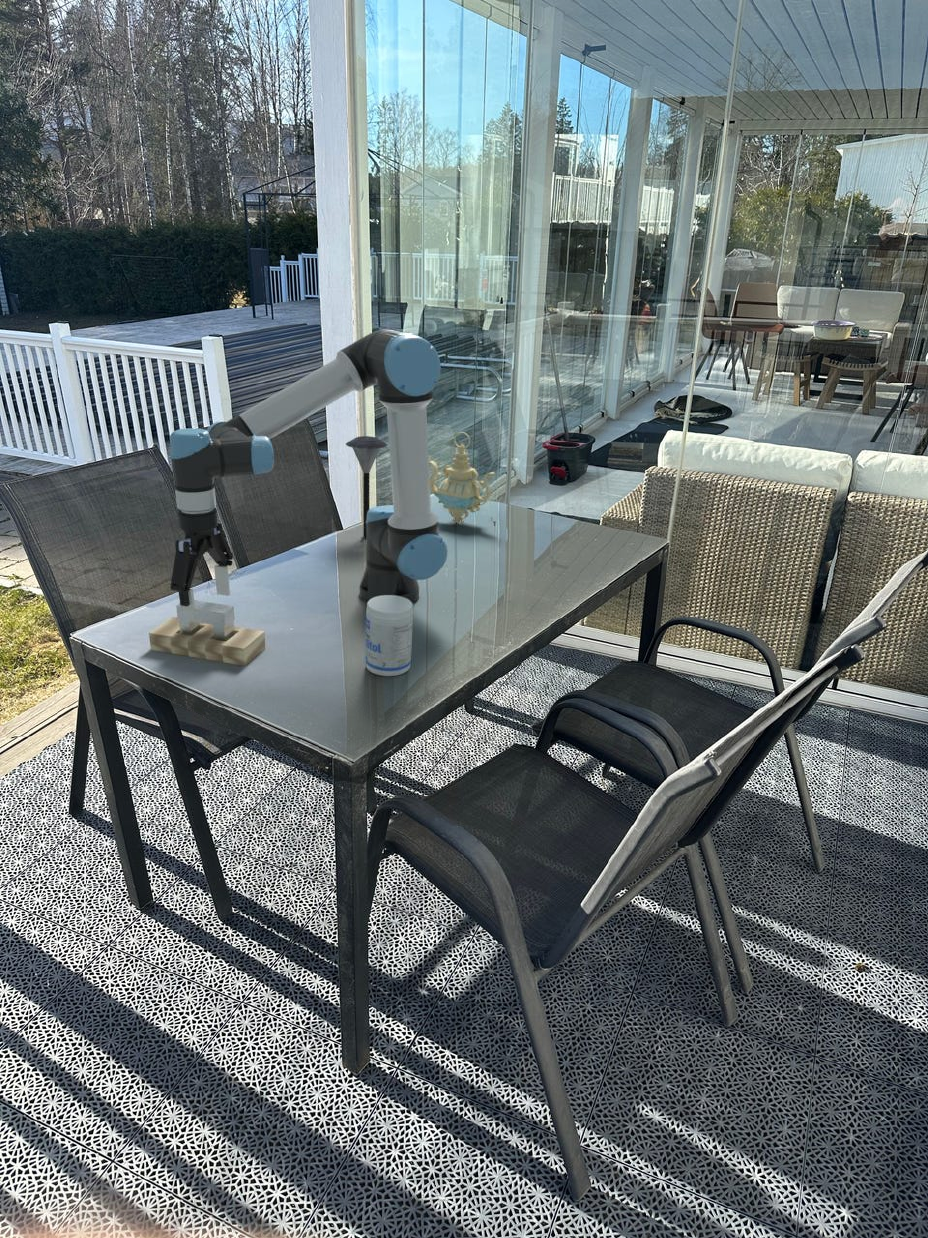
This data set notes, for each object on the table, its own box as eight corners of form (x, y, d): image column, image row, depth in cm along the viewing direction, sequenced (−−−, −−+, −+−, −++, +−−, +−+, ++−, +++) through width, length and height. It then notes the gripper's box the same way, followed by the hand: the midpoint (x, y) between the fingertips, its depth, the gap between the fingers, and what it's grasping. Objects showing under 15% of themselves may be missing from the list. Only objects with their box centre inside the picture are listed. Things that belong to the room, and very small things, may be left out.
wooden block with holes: (265, 648, 177) (264, 631, 176) (245, 666, 169) (244, 648, 168) (174, 633, 182) (172, 616, 180) (150, 649, 174) (148, 632, 172)
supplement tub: (356, 667, 171) (355, 602, 165) (388, 653, 178) (389, 590, 172) (388, 682, 166) (389, 616, 160) (420, 667, 173) (422, 603, 167)
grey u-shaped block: (236, 648, 176) (233, 606, 172) (227, 656, 173) (224, 613, 169) (190, 641, 179) (186, 599, 175) (180, 648, 175) (176, 605, 171)
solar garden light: (352, 544, 243) (352, 443, 231) (341, 532, 253) (340, 434, 241) (391, 541, 248) (393, 441, 236) (379, 529, 258) (380, 433, 246)
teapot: (417, 521, 267) (420, 429, 255) (435, 514, 276) (439, 424, 264) (481, 536, 256) (487, 440, 244) (498, 527, 266) (505, 434, 254)
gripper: (212, 490, 175) (221, 583, 184) (142, 524, 153) (156, 627, 162) (244, 494, 173) (251, 587, 182) (178, 528, 151) (190, 632, 160)
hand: (206, 606), depth 172 cm, fingers open, 13 cm apart
